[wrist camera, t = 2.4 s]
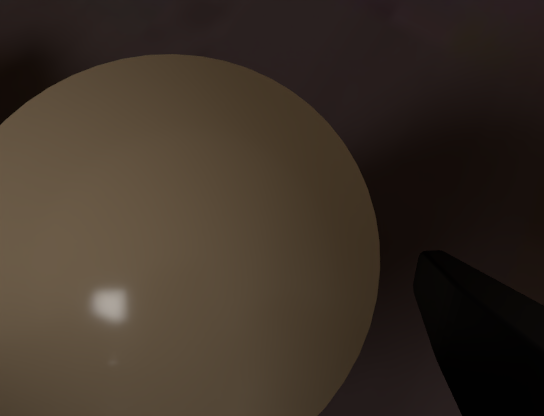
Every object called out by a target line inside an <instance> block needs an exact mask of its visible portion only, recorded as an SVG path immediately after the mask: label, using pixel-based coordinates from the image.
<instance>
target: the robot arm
mask: <svg viewBox="0 0 544 416" xmlns="http://www.w3.org/2000/svg"><path fill="white" fill-rule="evenodd" d="M413 288H414V294H415V297H416V300H417V303H418V306H419V309H420V312H421V315H422V318H423V321H424V324H425V327H426V330H427V333H428V336H429V339H430V342H431V345H432V348H433V351H434V354H435V357H436V359H437V362H438V364H439V366H440V369H441V371H442V373H443V375H444V377H445V380H446V382H447V384H448V386H449V388H450V390H451V392H452V395H453V397H454V399H455V401H456V403H457V405H458V408H459V410H460V412H461V414H462V416H544V306H543V305H541V304H539V303H538V302H536V301H534V300H532V299H530V298H528V297H526V296H525V295H523V294H521V293H519V292H517V291H515V290H514V289H512V288H510V287H508V286H506V285H504V284H502V283H501V282H499V281H497V280H495V279H493V278H491V277H490V276H488V275H486V274H484V273H482V272H480V271H479V270H477V269H475V268H473V267H471V266H469V265H467V264H466V263H464V262H462V261H460V260H458V259H456V258H455V257H453V256H451V255H449V254H447V253H445V252H443V251H440V250H436V251H423V252H422V253H420V255H419V258H418V263H417V268H416V273H415V278H414V283H413Z"/></svg>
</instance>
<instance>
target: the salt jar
mask: <svg viewBox="0 0 544 416" xmlns="http://www.w3.org/2000/svg"><path fill="white" fill-rule="evenodd" d="M379 275H380V242H379V235H378V229H377V222H376V216H375V212H374V208H373V205H372V201H371V198H370V195H369V191H368V188H367V186H366V184H365V181H364V179H363V177H362V174H361V172H360V170H359V168H358V165H357V164H356V162H355V160H354V159H353V157H352V155H351V154H350V152H349V150H348V149H347V147H346V145H345V144H344V142H343V141H342V140H341V139H340V137H339V136H338V135H337V133H336V132H335V131H334V130H333V128H332V127H331V126H330V125H329V123H328V122H327V121H326V120H325V119H324V118H323V117H322V116H321V115H320V114H319V113H318V112H317V111H316V110H315V109H314V108H313V107H311V106H310V105H309V104H308V103H306V102H305V101H304V100H303V99H301V98H300V97H299V96H297V95H296V94H295V93H293V92H292V91H291V90H289V89H287V88H286V87H284V86H282V85H281V84H279V83H277V82H276V81H274V80H272V79H271V78H268V77H266V76H264V75H262V74H259V73H257V72H255V71H253V70H250V69H248V68H245V67H242V66H239V65H236V64H232V63H229V62H226V61H222V60H217V59H212V58H206V57H201V56H191V55H178V54H167V55H146V56H140V57H133V58H126V59H121V60H117V61H113V62H109V63H106V64H102V65H98V66H95V67H93V68H90V69H87V70H85V71H82V72H80V73H77V74H74V75H72V76H70V77H68V78H66V79H64V80H62V81H60V82H58V83H57V84H55V85H53V86H51V87H49V88H47V89H46V90H44V91H43V92H41V93H40V94H38V95H37V96H35V97H34V98H32V99H31V100H29V101H28V102H26V103H25V104H24V105H23V106H22V107H20V108H19V109H18V110H17V111H16V112H14V113H13V114H12V115H11V116H10V117H8V118H7V119H6V120H5V121H4V122H3V123H2V124H1V125H0V416H317V415H318V414H319V413H320V412H321V411H322V410H323V409H324V408H325V407H326V406H327V404H328V403H329V402H330V400H331V399H332V398H333V396H334V395H335V394H336V392H337V391H338V389H339V388H340V387H341V385H342V384H343V383H344V381H345V379H346V378H347V376H348V374H349V372H350V370H351V368H352V367H353V365H354V363H355V361H356V359H357V357H358V356H359V354H360V351H361V348H362V346H363V343H364V341H365V338H366V336H367V333H368V330H369V328H370V325H371V321H372V316H373V312H374V308H375V304H376V300H377V294H378V284H379Z"/></svg>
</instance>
